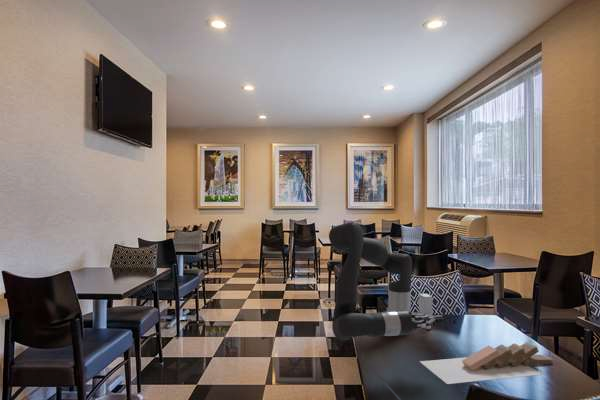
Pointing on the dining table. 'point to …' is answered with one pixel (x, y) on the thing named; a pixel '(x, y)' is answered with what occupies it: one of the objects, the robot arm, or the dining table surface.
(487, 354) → the loose domino
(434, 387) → the dining table surface
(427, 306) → the skincare box
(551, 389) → the dining table surface
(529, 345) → the domino
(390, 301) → the robot arm
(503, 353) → the domino
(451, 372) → the mat
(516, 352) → the domino
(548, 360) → the domino
